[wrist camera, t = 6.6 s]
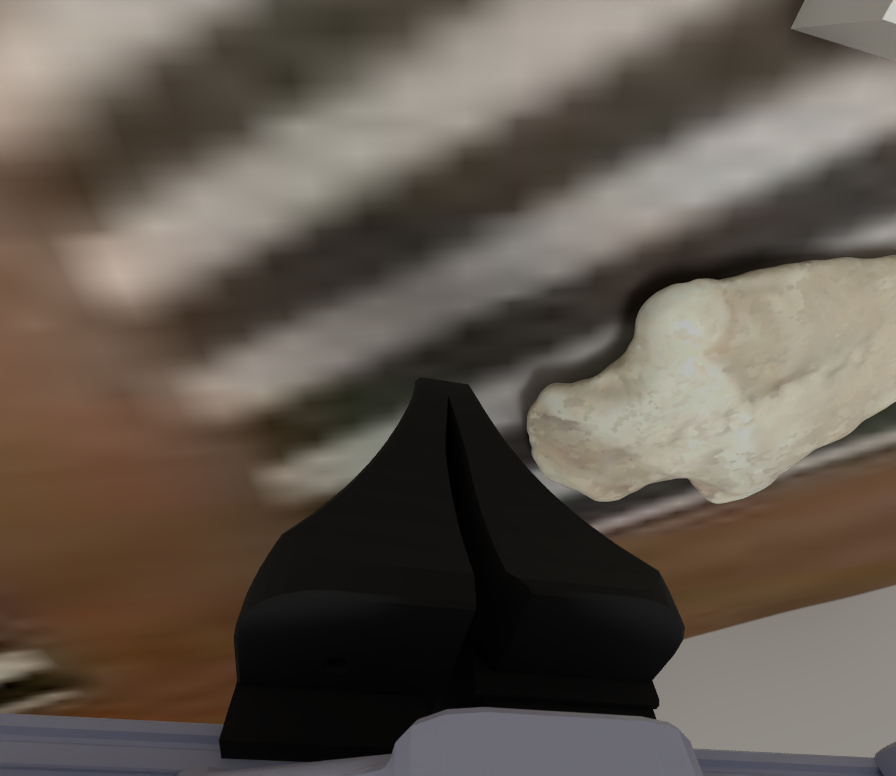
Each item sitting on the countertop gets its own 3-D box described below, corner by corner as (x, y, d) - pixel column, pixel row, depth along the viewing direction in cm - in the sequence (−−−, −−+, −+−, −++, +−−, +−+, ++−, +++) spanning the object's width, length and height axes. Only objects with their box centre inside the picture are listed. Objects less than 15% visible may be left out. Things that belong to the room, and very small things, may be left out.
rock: (477, 351, 23) (961, 121, 18) (573, 520, 29) (943, 384, 25) (485, 397, 19) (1074, 133, 15) (591, 574, 26) (1019, 430, 22)
